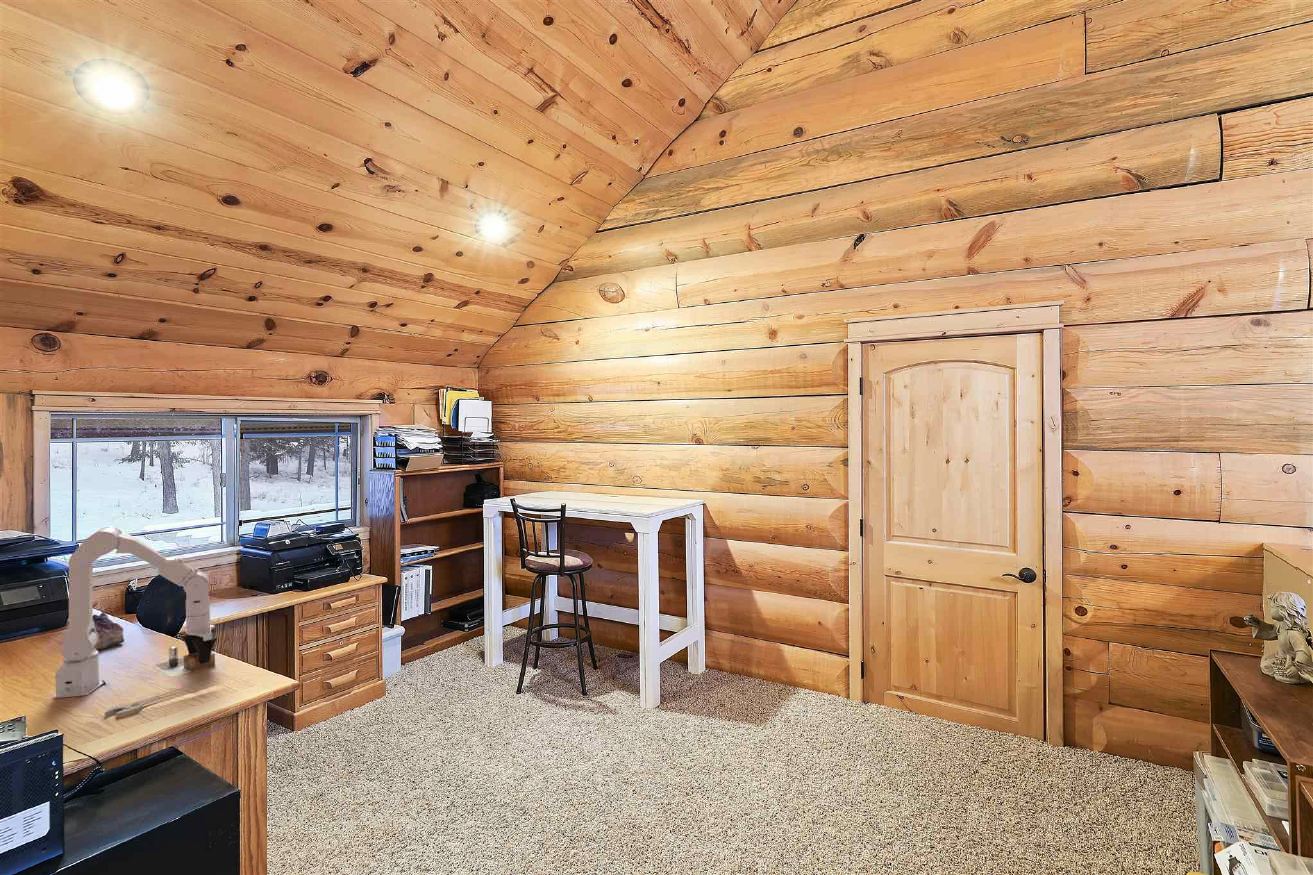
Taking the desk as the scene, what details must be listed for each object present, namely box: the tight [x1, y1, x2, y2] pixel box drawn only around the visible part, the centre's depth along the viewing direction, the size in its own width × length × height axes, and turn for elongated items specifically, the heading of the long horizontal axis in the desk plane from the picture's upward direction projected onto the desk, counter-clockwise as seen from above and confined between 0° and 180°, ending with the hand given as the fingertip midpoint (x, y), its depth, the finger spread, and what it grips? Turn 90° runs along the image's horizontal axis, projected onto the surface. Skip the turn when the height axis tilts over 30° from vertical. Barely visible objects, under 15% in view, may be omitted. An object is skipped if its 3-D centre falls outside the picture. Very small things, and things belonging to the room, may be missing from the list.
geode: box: [93, 611, 125, 651], centre depth 215 cm, size 20×12×10 cm, turn 51°
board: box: [153, 661, 219, 678], centre depth 193 cm, size 14×12×1 cm
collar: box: [182, 651, 216, 673], centre depth 192 cm, size 6×6×3 cm
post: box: [155, 645, 184, 670], centre depth 194 cm, size 7×7×5 cm
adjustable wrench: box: [104, 677, 218, 719], centre depth 171 cm, size 25×6×2 cm, turn 145°
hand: (199, 659), depth 192 cm, fingers open, 7 cm apart
